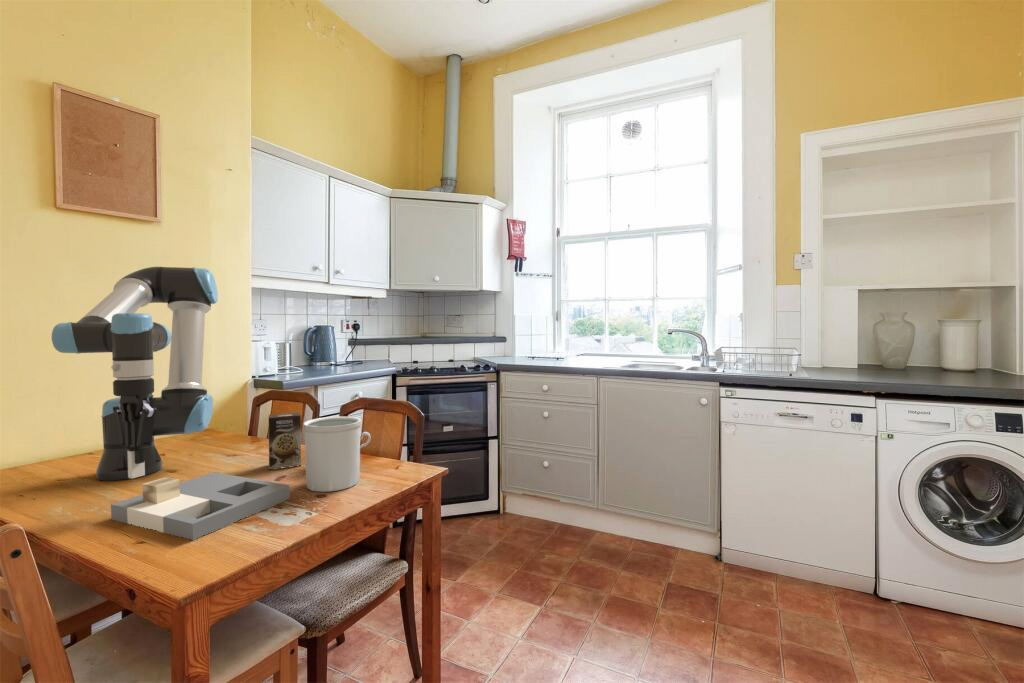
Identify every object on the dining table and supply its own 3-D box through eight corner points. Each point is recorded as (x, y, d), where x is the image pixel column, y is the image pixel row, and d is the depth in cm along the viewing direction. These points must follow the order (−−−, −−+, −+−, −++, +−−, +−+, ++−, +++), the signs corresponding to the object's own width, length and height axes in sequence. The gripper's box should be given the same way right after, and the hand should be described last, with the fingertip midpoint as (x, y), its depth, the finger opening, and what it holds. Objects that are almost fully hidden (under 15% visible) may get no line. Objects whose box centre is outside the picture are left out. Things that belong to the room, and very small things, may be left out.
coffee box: (268, 470, 138) (267, 417, 137) (269, 464, 144) (267, 414, 143) (302, 466, 142) (300, 415, 142) (300, 460, 148) (299, 411, 147)
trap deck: (111, 519, 104) (110, 504, 103) (214, 484, 126) (214, 472, 126) (193, 540, 93) (192, 523, 93) (290, 498, 115) (289, 485, 115)
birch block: (143, 500, 105) (142, 483, 105) (166, 493, 110) (165, 477, 110) (156, 504, 103) (156, 486, 103) (179, 496, 108) (179, 479, 108)
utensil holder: (325, 473, 135) (324, 414, 135) (371, 476, 132) (370, 416, 132) (292, 490, 121) (291, 425, 120) (342, 494, 118) (341, 427, 117)
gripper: (98, 378, 107) (101, 478, 108) (132, 380, 102) (135, 484, 103) (134, 375, 114) (137, 469, 115) (168, 377, 109) (171, 474, 110)
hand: (136, 476), depth 109 cm, fingers closed
